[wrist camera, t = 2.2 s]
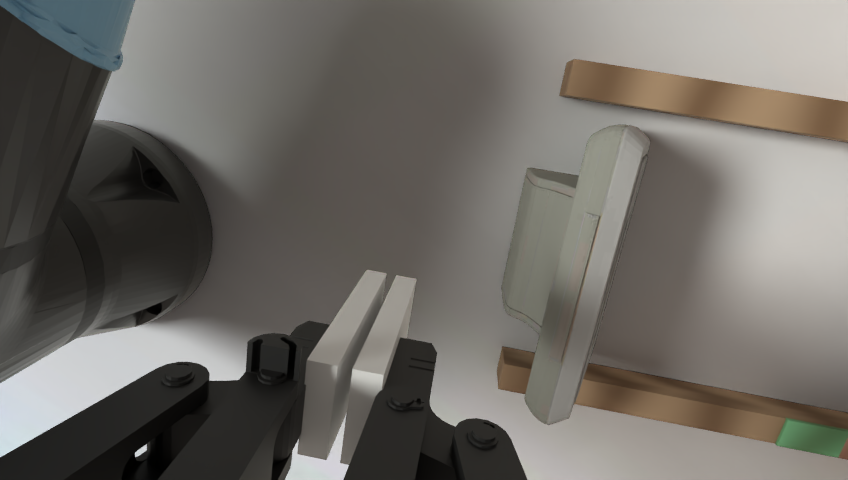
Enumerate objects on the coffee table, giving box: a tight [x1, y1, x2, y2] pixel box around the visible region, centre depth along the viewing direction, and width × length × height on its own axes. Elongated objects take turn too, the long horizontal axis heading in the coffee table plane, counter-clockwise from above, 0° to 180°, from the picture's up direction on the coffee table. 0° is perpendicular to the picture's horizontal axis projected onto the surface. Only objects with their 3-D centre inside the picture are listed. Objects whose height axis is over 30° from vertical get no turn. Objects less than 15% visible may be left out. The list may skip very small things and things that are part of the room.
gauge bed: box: [497, 59, 848, 460], centre depth 31 cm, size 28×22×3 cm
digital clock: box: [502, 125, 650, 425], centre depth 28 cm, size 16×9×11 cm, turn 160°
